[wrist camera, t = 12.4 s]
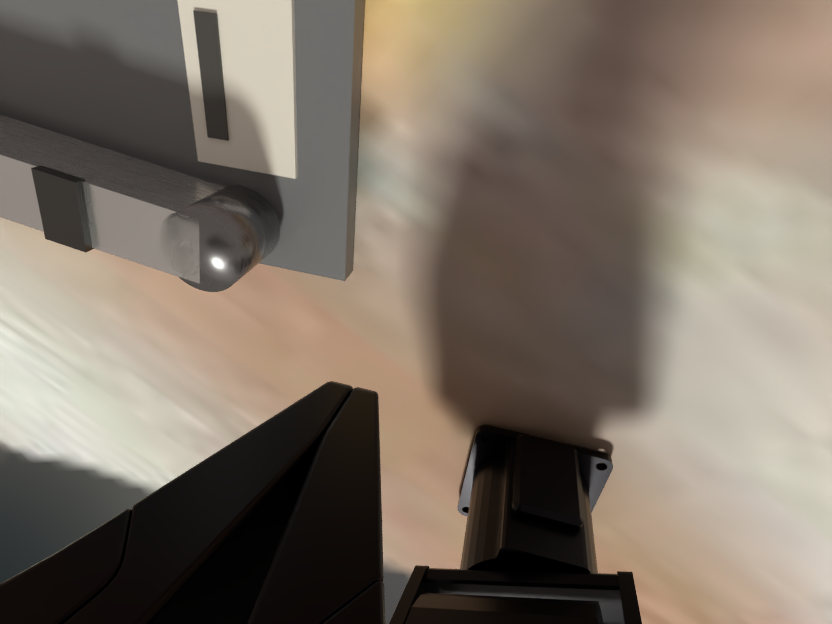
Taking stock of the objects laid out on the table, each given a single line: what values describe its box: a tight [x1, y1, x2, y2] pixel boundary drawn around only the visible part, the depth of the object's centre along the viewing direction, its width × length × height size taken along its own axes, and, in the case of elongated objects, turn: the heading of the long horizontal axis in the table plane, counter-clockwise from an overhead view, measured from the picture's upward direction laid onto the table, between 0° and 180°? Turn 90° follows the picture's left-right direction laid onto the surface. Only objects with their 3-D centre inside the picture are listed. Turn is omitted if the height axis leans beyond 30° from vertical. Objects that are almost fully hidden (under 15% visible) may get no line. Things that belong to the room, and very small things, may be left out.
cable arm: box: [0, 115, 280, 292], centre depth 18 cm, size 18×3×3 cm, turn 77°
